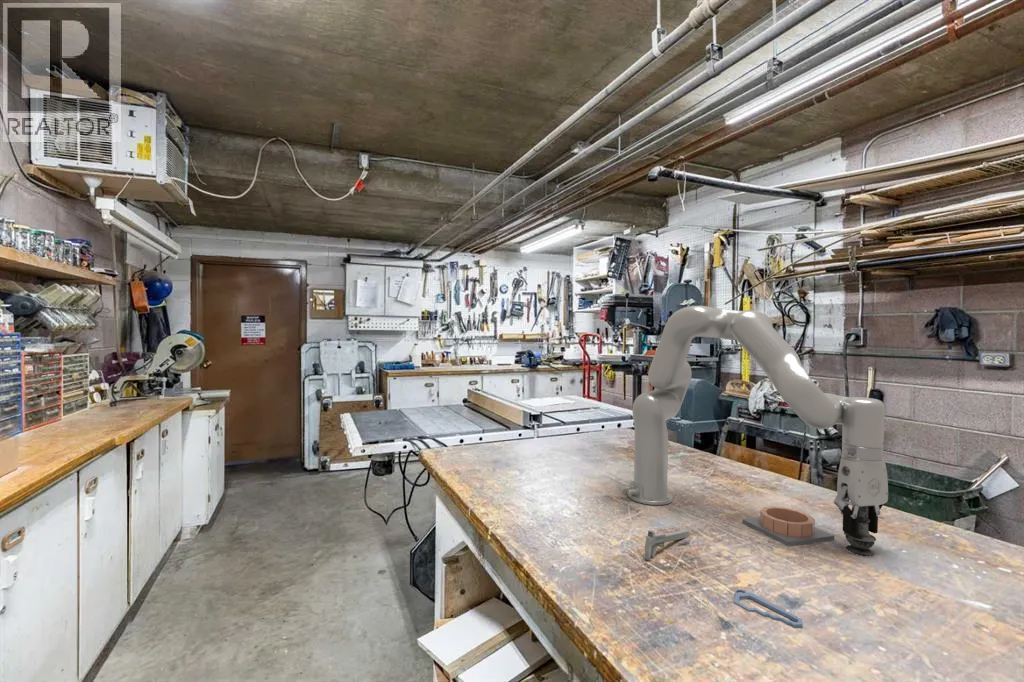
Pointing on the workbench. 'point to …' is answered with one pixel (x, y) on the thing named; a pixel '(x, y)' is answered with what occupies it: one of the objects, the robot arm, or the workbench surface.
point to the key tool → (774, 607)
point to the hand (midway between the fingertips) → (859, 531)
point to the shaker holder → (787, 526)
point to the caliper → (661, 541)
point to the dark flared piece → (861, 535)
